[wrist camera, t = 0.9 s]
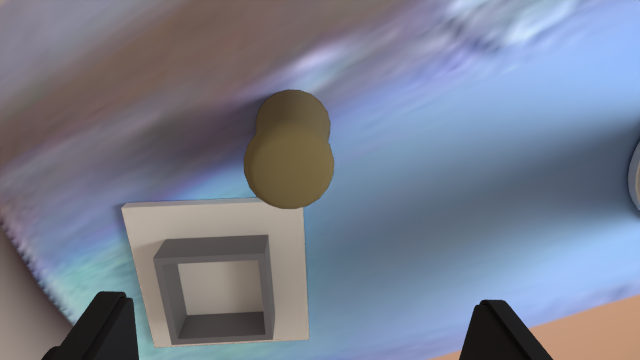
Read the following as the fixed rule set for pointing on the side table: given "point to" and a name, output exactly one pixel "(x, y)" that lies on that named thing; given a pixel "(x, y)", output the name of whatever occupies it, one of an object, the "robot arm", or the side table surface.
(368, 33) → the side table surface
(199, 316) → the beige square socket base
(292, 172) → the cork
